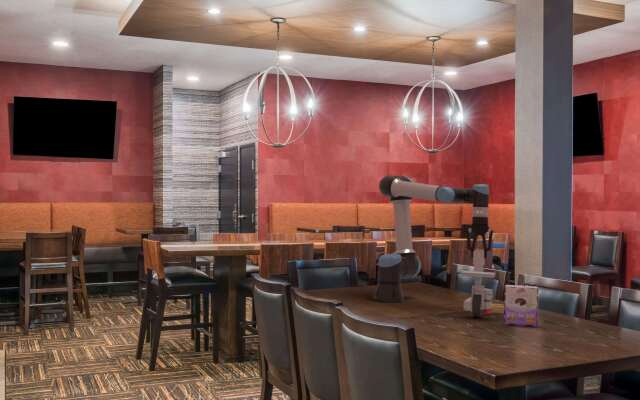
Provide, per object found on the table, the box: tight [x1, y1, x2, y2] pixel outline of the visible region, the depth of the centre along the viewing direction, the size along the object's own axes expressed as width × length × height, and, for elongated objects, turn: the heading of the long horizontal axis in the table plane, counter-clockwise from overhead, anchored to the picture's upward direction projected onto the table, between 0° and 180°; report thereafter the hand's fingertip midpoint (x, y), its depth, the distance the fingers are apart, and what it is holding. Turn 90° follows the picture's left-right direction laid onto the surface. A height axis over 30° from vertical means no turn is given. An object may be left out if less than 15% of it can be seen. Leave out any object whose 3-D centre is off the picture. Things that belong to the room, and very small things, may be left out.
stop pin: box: [473, 248, 484, 272], centre depth 334 cm, size 4×4×12 cm
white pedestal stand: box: [460, 270, 496, 318], centre depth 309 cm, size 14×10×20 cm
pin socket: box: [492, 303, 504, 315], centre depth 327 cm, size 9×9×3 cm
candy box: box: [503, 284, 539, 328], centre depth 292 cm, size 14×6×16 cm, turn 71°
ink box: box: [470, 287, 494, 316], centre depth 319 cm, size 8×5×12 cm, turn 39°
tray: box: [463, 296, 472, 312], centre depth 333 cm, size 16×10×4 cm, turn 157°
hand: (478, 264), depth 334 cm, fingers closed on stop pin, 4 cm apart
